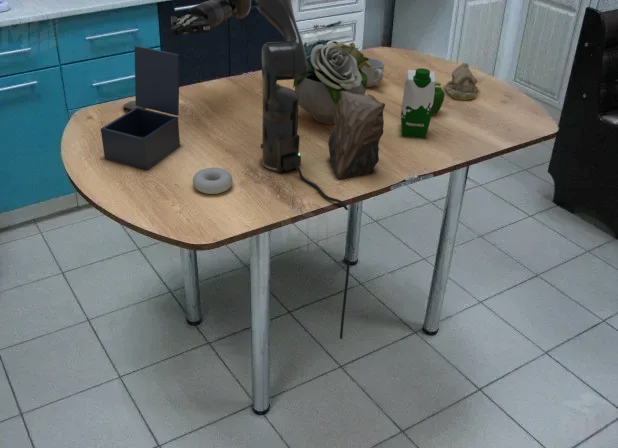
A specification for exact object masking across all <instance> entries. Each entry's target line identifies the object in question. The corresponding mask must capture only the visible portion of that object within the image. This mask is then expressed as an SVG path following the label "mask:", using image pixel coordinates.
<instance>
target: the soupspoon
mask: <svg viewBox="0 0 618 448" xmlns="http://www.w3.org/2000/svg"><path fill="white" fill-rule="evenodd" d="M122 107H123V108H126V109H129V110H133V109H134V108H136V107H138V108H142V109H144V108H143V107H139V106H136V102H135V100H131V101H130V100H129V101H127V102H126V103H124V104H123V105H122Z"/></svg>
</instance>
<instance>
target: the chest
mask: <svg viewBox="0 0 618 448" xmlns="http://www.w3.org/2000/svg"><path fill="white" fill-rule="evenodd" d="M100 136H101V141H102V150H103V157H104V159H105V160H108V161H113V162H116V163H120V164H124V165H127V166H131V167H135V168H138V169H142V170H145V171H148V170H149V169H151V168H152V167H154V166H155V165H156V164H159V162H161V161H162V160H163V159H165V158H166V157H167V156H169V155H170V154H171V153H173V152H175V150H177V149H178V148H179V147H181V139H180V125H179V117H178V116H176V115H172V114H168V113H164V112H159V111H155V110H151V109H147V108H138V107H136V108H134V109H133V110H132V109H130V110H129V111H127V112H126V113H124V114H122V115H121V116H119V117H118V118H115V119H114V120H112V121H111V122H109V123H107V124H106V125H104V126H102V127H101V128H100Z"/></svg>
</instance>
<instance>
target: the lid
mask: <svg viewBox="0 0 618 448" xmlns="http://www.w3.org/2000/svg"><path fill="white" fill-rule="evenodd" d="M134 91H135V92H134V93H135V94H134V95H135V96H134V99H135V100H134V101H135V102H136V106H139V107H143V108H142V109H146V110H150V111H154V112H159V113H163V114H167V115H171V116H175V117H178V116H180V54H178V53H174V52H169V51H162V50H160V49H159V50H158V49H154V48H149V47H144V46H140V45H135V46H134Z"/></svg>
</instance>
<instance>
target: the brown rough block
mask: <svg viewBox="0 0 618 448" xmlns="http://www.w3.org/2000/svg"><path fill="white" fill-rule="evenodd" d="M385 107H386V103H384V102H380V101H379V100H378V99H377V98H376V97H374V95H371V94H365V95H361V94H352V93H351V92H348V91H341V92H340V100H339V102H338V104H337V105H336V108H335V111H334V123H333V125H334V126H333V127H332V131H331V132H330V136H329V138H328V145H327V146H328V152H329V158H330V159H329V163H330V164H331V168H332V170H333V174H334V176H335V177H336V179H337V180H339V181H340V180H344V179H348V178H353V177H360V176H362V175H370V174H372V173H374V172H375V171H376V170H375V169H374V168H375V166H376V165H377V164H378V163H379V161H380V158H379V157H380V156H379V150H380V148H379V144H380V140H381V138H382V136H383V135H384V125H385V124H384V123H385V120H384V109H385Z"/></svg>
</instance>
